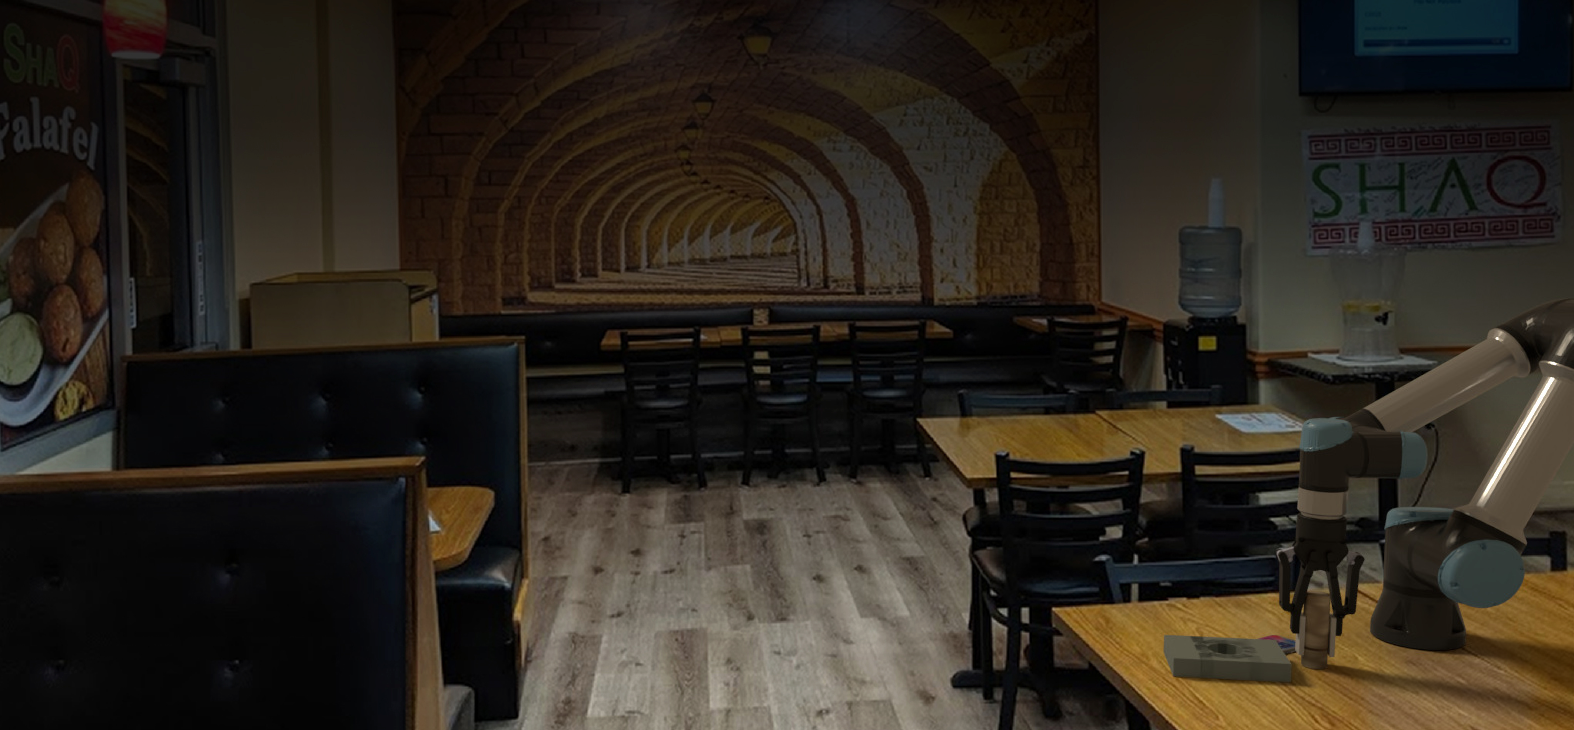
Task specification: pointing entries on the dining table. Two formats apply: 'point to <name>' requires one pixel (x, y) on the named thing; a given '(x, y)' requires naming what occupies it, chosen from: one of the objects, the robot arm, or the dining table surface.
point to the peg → (1316, 629)
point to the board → (1226, 658)
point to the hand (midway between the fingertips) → (1314, 653)
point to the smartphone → (1283, 643)
